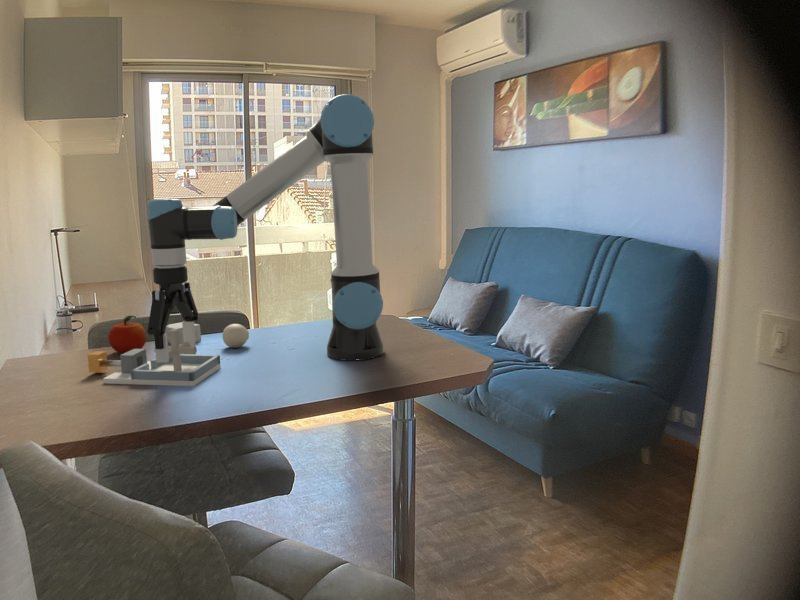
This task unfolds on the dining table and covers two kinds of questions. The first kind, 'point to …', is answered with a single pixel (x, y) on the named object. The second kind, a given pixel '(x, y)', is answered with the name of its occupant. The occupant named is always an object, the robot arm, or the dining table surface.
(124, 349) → the fruit
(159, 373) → the dock
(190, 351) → the pipe connector
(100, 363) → the lock pin
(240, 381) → the dining table surface
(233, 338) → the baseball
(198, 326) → the small box
